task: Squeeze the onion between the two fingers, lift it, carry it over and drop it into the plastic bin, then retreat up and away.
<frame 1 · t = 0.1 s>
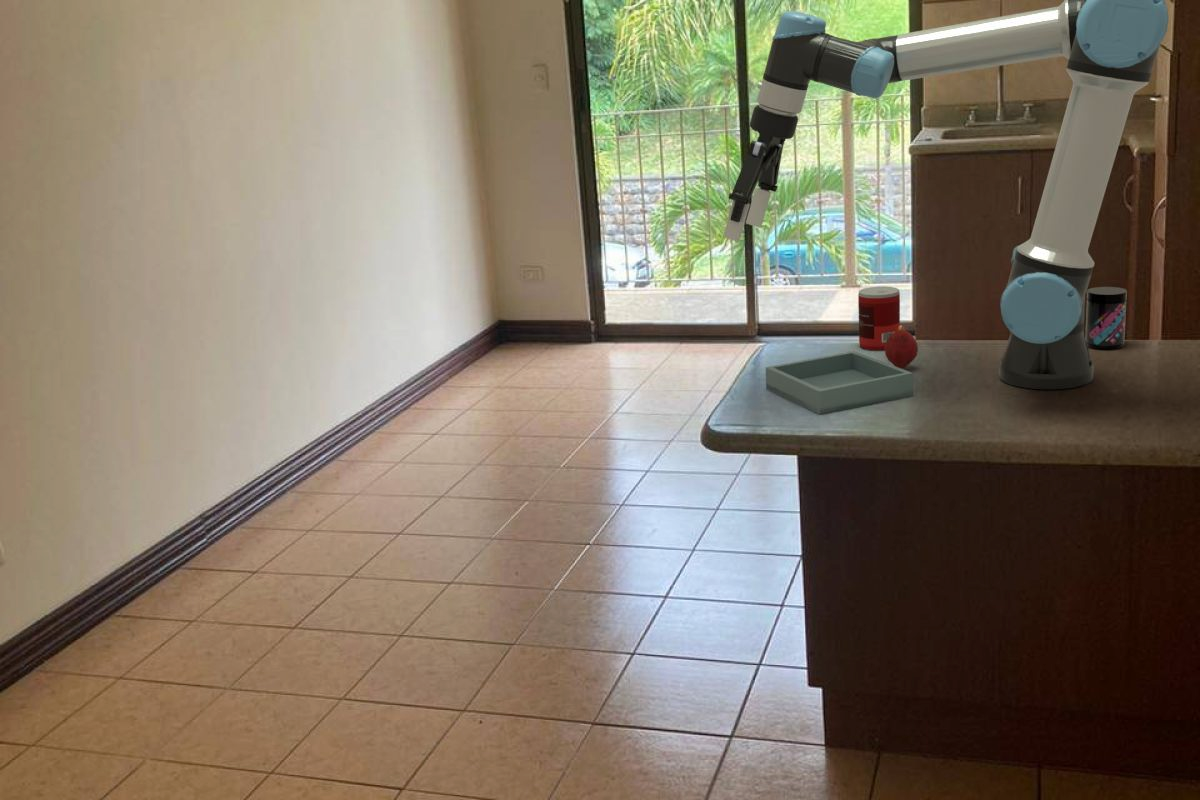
hand: (742, 232, 207), 28 cm above the worktop, tool tilted 20°, fingers open, 13 cm apart
bin: (837, 392, 208), on the worktop
canned food: (879, 346, 236), on the worktop
supplement container: (1104, 347, 224), on the worktop
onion: (901, 369, 219), on the worktop
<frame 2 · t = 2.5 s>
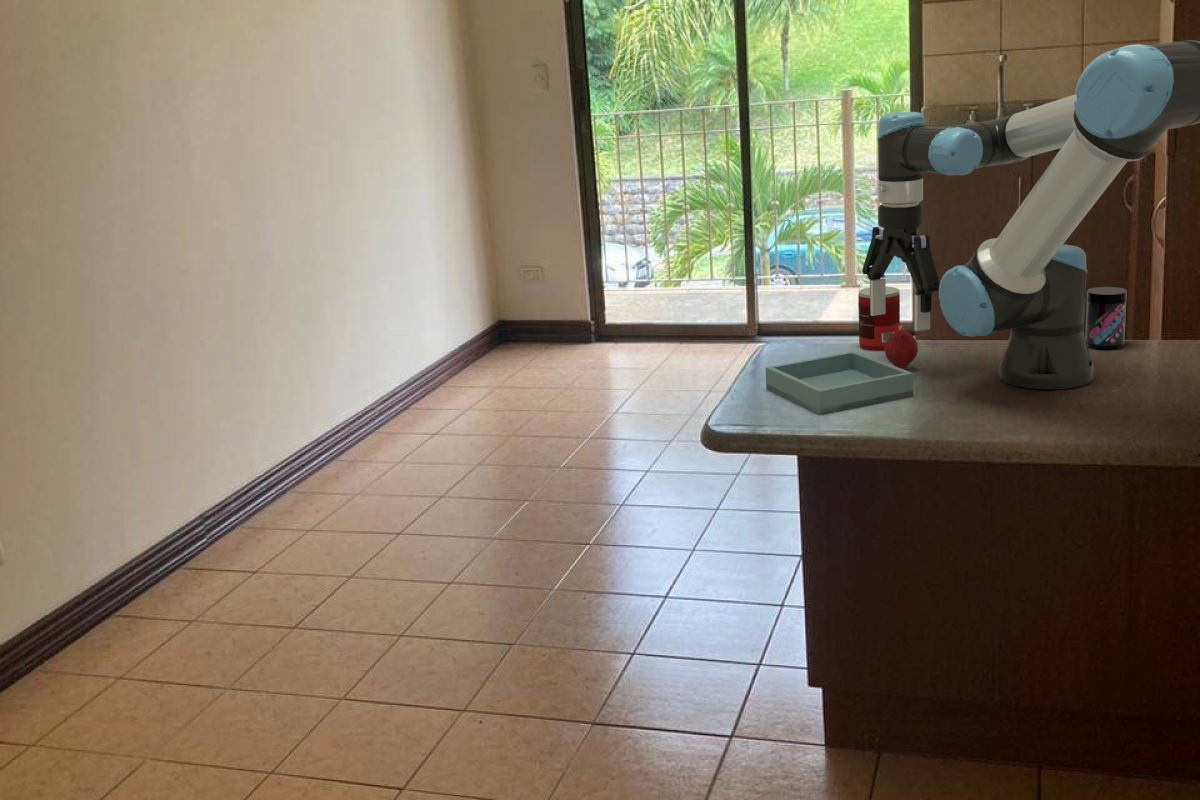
hand: (899, 322, 217), 9 cm above the worktop, tool pointing down, fingers open, 13 cm apart
nothing on the worktop moved.
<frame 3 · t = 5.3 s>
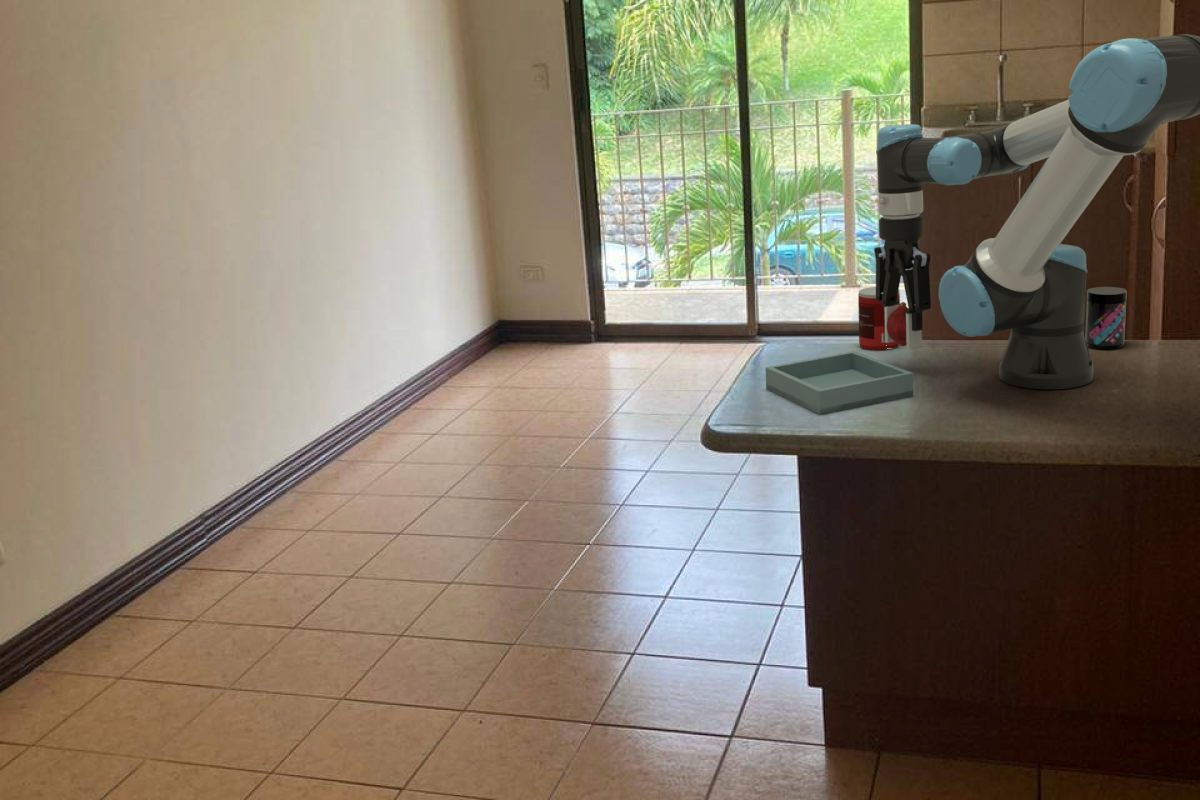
hand: (903, 344, 217), 5 cm above the worktop, tool pointing down, fingers closed on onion, 6 cm apart
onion: (903, 347, 218), point 4 cm above the worktop, touching gripper
everything else where it was.
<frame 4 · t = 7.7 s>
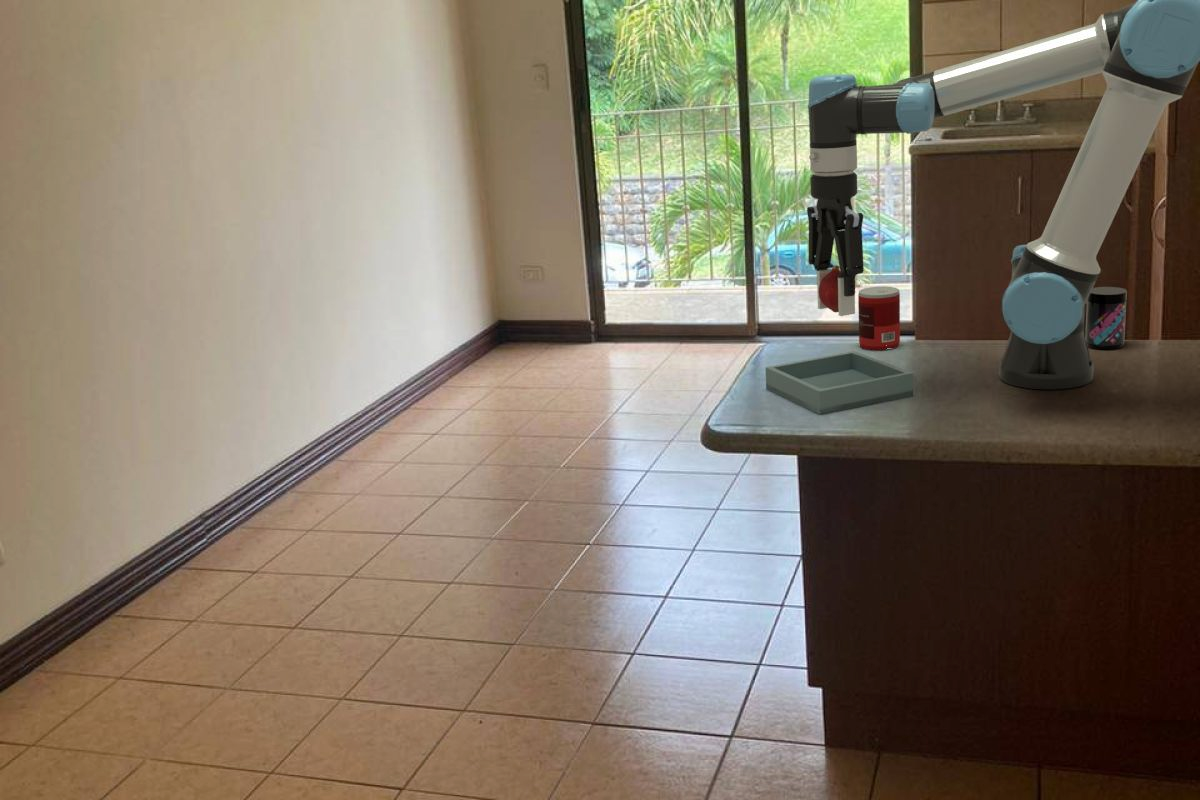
hand: (836, 310, 204), 14 cm above the worktop, tool pointing down, fingers closed on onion, 6 cm apart
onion: (836, 313, 204), point 14 cm above the worktop, touching gripper
everything else where it was.
when the fingers open (3 cm above the worktop, at t = 10.3 s): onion drops 2 cm, resting on bin.
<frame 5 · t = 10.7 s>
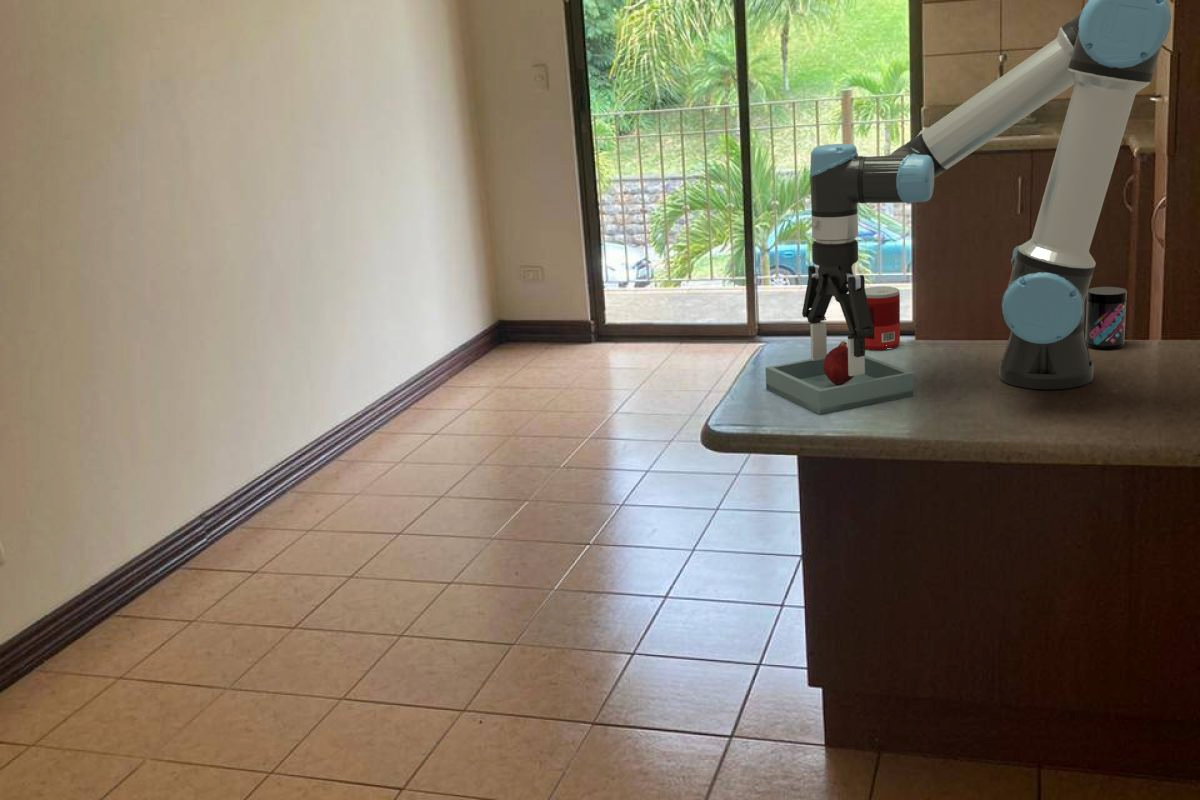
hand: (837, 366, 207), 5 cm above the worktop, tool pointing down, fingers open, 11 cm apart
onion: (838, 387, 208), point 1 cm above the worktop, touching bin
everything else where it was.
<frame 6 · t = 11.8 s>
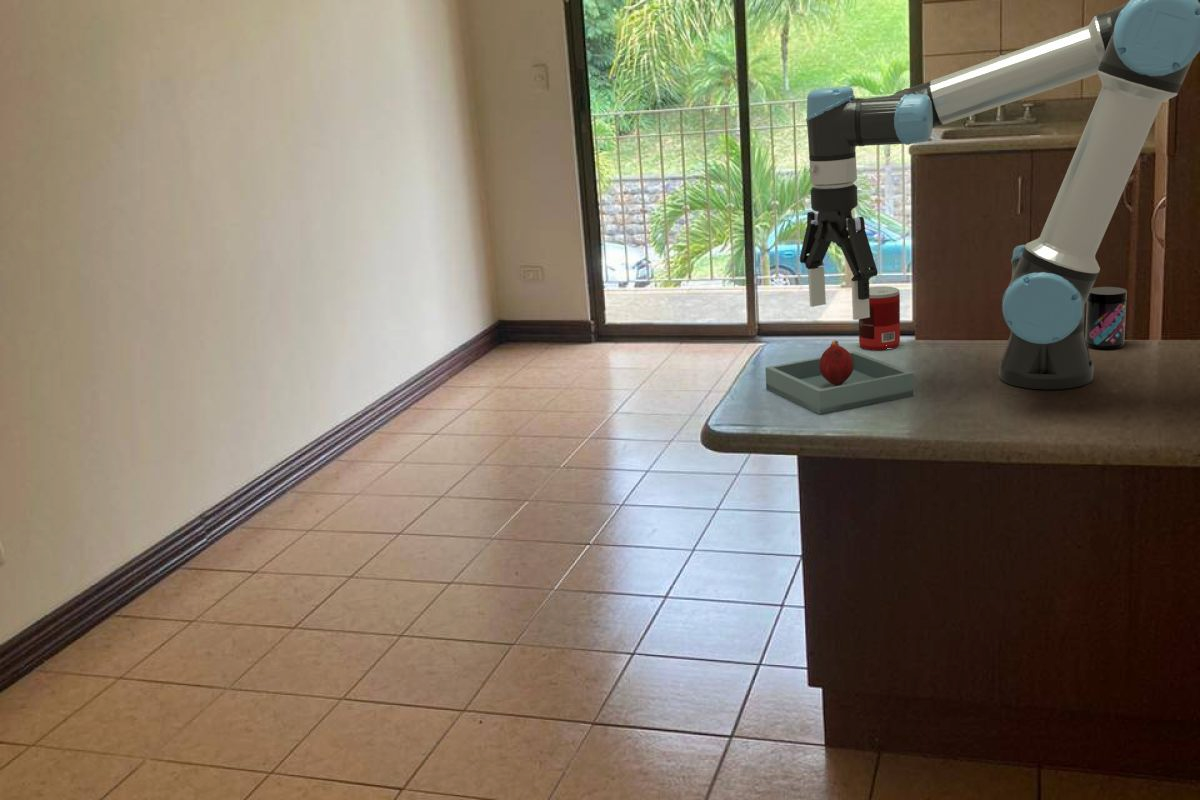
hand: (839, 311, 204), 14 cm above the worktop, tool pointing down, fingers open, 13 cm apart
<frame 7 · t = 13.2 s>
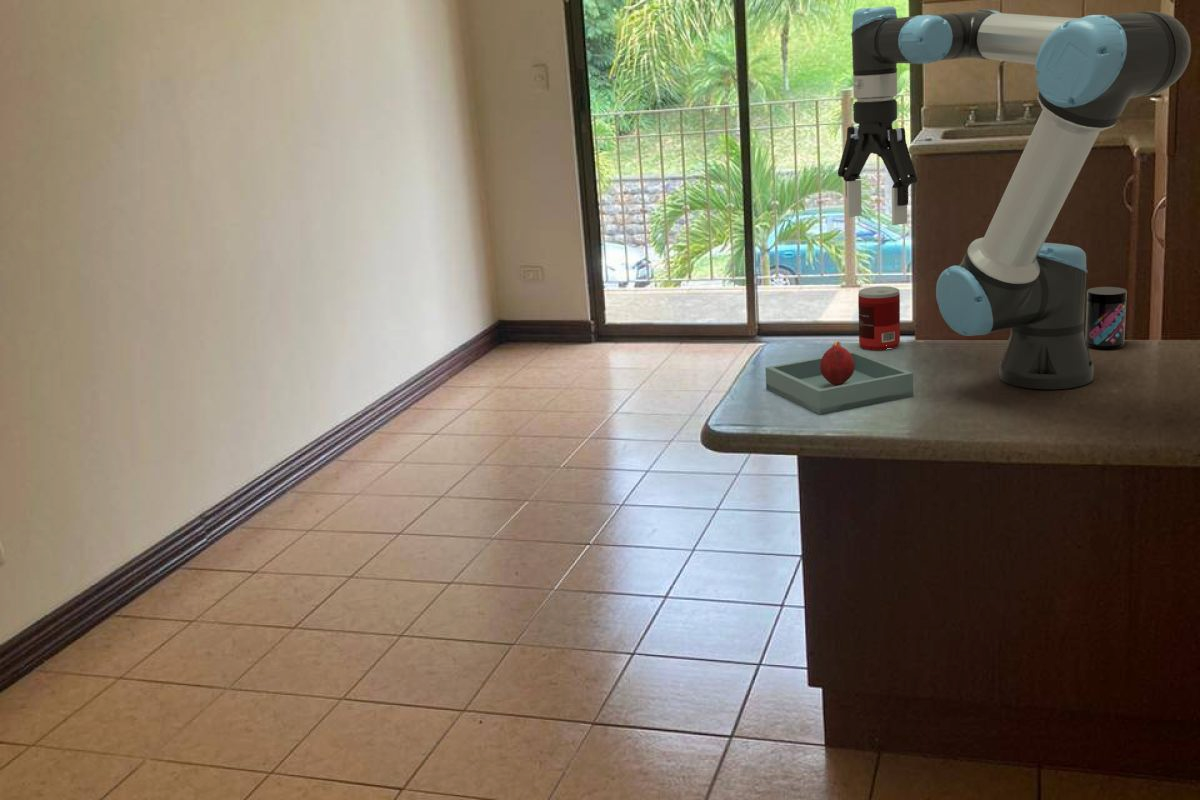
hand: (876, 220, 218), 26 cm above the worktop, tool pointing down, fingers open, 13 cm apart
nothing on the worktop moved.
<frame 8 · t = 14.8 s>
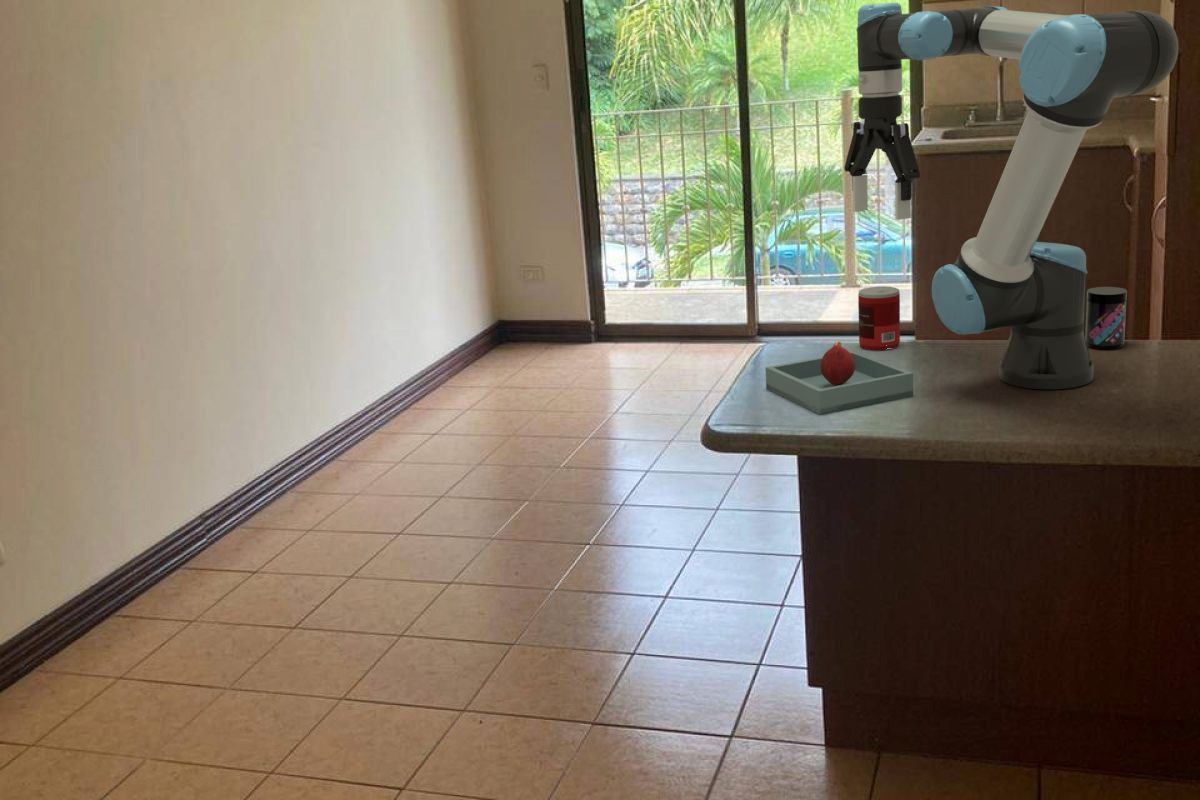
hand: (881, 214, 220), 27 cm above the worktop, tool pointing down, fingers open, 13 cm apart
nothing on the worktop moved.
at the end: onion inside the target area on the bin (0.1 cm from its centre), point 0.8 cm above the bin's base; the gripper is holding nothing; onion moved 18.0 cm from its start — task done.
